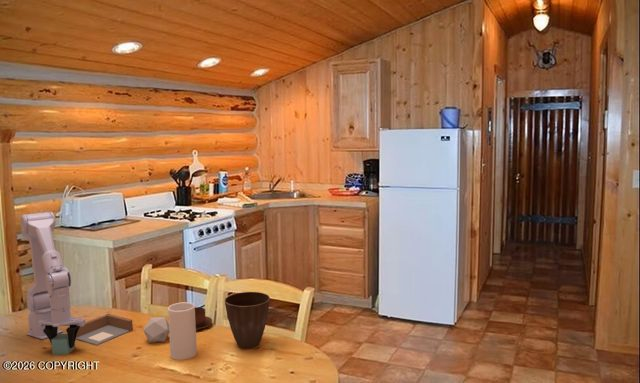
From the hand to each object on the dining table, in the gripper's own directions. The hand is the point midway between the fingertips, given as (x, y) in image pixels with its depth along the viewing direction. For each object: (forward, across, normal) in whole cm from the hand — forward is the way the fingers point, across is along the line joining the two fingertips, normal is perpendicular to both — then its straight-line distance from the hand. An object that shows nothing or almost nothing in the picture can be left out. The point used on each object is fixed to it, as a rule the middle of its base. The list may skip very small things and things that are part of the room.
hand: (63, 346), depth 170 cm
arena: (+1, +7, +14) cm, 16 cm away
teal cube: (+1, 0, 0) cm, 1 cm away
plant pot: (+2, +61, +3) cm, 61 cm away
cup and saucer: (+2, +39, +20) cm, 44 cm away
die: (+2, +29, +8) cm, 30 cm away
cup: (+2, +40, -4) cm, 41 cm away
